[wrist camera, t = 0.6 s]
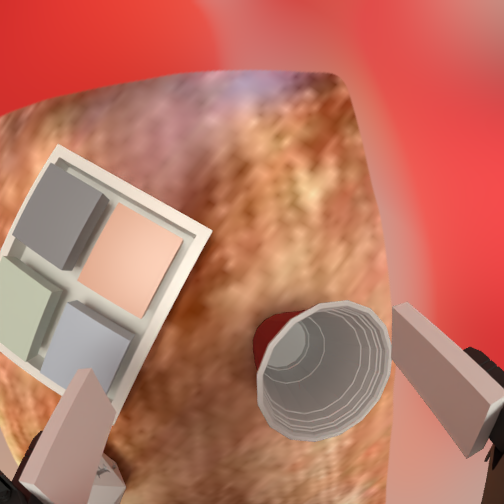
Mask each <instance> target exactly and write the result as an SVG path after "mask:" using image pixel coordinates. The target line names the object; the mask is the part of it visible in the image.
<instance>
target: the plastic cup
mask: <svg viewBox="0 0 504 504" xmlns="http://www.w3.org/2000/svg"><path fill="white" fill-rule="evenodd" d="M391 346H392V345H391V342H390V338H389V335H388V331H387V328H386V326H385V324H384V323H383V322H382V321H381V320H380V319H379V317H378V316H377V315H376V314H375V313H374V312H373V311H372V309H370V308H368V307H365V306H362V305H359V304H357V303H354V302H351V301H349V300H345V301H337V302H328V303H319V304H316V305H314V306H313V307H311V308H309V309H307V310H303V311H297V312H286V313H282V314H275V315H274V316H272V317H270V318H268V319H266V320H264V322H263V323H262V324H261V325H260V326H259V327H258V328H257V330H256V333H255V336H254V339H253V352H254V359H255V364H256V368H257V402H258V406H259V408H260V410H261V412H262V414H263V415H264V417H265V419H266V421H267V423H268V424H269V426H270V427H271V428H273V429H274V430H276V431H277V432H279V433H281V434H282V435H284V436H286V437H287V438H289V439H291V440H300V441H311V442H316V441H320V440H324V439H327V438H331V437H334V436H338V435H340V434H342V433H343V432H345V431H347V430H348V429H350V428H351V427H353V426H354V425H356V424H357V423H358V422H360V421H361V420H363V418H364V417H365V416H366V415H367V414H368V413H369V411H370V410H371V409H372V408H373V407H374V405H375V404H376V403H377V402H378V400H379V399H380V397H381V395H382V392H383V390H384V388H385V386H386V383H387V381H388V379H389V376H390V371H391V361H392V359H391Z"/></svg>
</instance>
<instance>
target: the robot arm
mask: <svg viewBox="0 0 504 504" xmlns="http://www.w3.org/2000/svg"><path fill="white" fill-rule="evenodd" d="M391 359H392V360H393V361H394V363H395V364H396V365H397V366H398V368H399V369H400V370H401V371H402V373H403V374H404V375H405V377H406V378H407V379H408V380H409V382H410V383H411V384H412V386H413V387H414V388H415V389H416V391H417V392H418V394H419V395H420V396H421V397H422V399H423V400H424V401H425V403H426V404H427V405H428V407H429V408H430V409H431V411H432V412H433V413H434V415H435V416H436V417H437V419H438V420H439V421H440V423H441V424H442V426H443V427H444V428H445V430H446V431H447V432H448V434H449V435H450V436H451V438H452V439H453V441H454V442H455V443H456V445H457V446H458V447H459V449H460V450H461V452H462V453H463V455H464V456H465V457H466V459H467V458H469V457H470V456H472V455H474V454H475V453H477V452H478V451H480V450H482V449H483V448H484V446H485V444H486V442H487V440H488V438H489V439H490V440H491V441H492V443H493V445H492V447H491V449H490V450H489V452H488V454H487V456H486V458H485V462H487V461H488V459H489V457H490V460H489V467H488V472H487V478H486V483H485V488H484V493H483V498H482V502H481V504H504V371H503V370H502V369H501V368H500V367H497V365H496V364H495V363H494V362H493V361H490V359H489V358H488V357H487V356H486V355H485V354H484V353H483V352H481V351H479V350H476V349H474V348H472V347H468V348H466V349H464V350H462V349H461V348H460V347H459V346H458V345H456V344H455V343H454V342H453V341H452V340H451V339H450V338H449V337H447V336H446V335H445V334H444V333H443V332H442V331H441V330H439V329H438V328H437V327H436V326H435V325H434V324H432V323H431V322H430V321H429V320H428V319H427V318H426V317H425V316H423V315H422V314H421V313H420V312H419V311H417V310H416V309H415V308H414V307H413V306H412V305H410V304H409V303H408V302H405V303H403V304H399V305H396V306H393V307H392V346H391ZM115 415H116V411H115V409H114V407H113V406H112V404H111V402H110V401H109V399H108V397H107V395H106V394H105V392H104V390H103V388H102V386H101V385H100V383H99V381H98V379H97V377H96V375H95V373H94V372H93V370H92V368H85V369H78V370H77V372H76V374H75V375H74V377H73V379H72V380H71V382H70V384H69V385H68V387H67V389H66V391H65V392H64V394H63V396H62V398H61V399H60V401H59V403H58V405H57V406H56V408H55V410H54V412H53V414H52V416H51V417H50V419H49V421H48V423H47V425H46V427H45V429H44V430H43V431H40V432H39V433H38V434H37V435H36V436H35V437H34V438H33V440H32V442H31V444H30V446H29V450H27V452H26V453H25V457H23V459H22V461H21V463H20V465H19V467H18V469H17V472H16V474H15V476H14V478H13V480H12V482H11V481H10V480H9V479H8V478H7V477H6V476H5V475H4V474H3V473H2V472H1V471H0V504H87V503H88V500H89V496H90V493H91V489H92V486H93V483H94V479H95V476H96V473H97V470H98V466H99V463H100V460H101V457H102V454H103V451H104V448H105V445H106V442H107V439H108V436H109V433H110V430H111V427H112V424H113V421H114V418H115Z"/></svg>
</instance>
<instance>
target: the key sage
mask: <svg viewBox="0 0 504 504" xmlns="http://www.w3.org/2000/svg"><path fill="white" fill-rule="evenodd" d="M62 292H63V290H61V289H60V288H58V287H57V286H55V285H54V284H53V283H51V282H50V281H48V280H47V279H45V278H44V277H43V276H41V275H40V274H38V273H37V272H36V271H34V270H33V269H31V268H30V267H29V266H27V265H26V264H25V263H23V262H22V261H21V260H19V259H18V258H17V257H11V256H2V259H1V261H0V343H2V344H3V345H4V346H5V347H7V348H8V349H9V350H10V351H12V352H13V353H14V354H15V355H17V356H18V357H19V358H21V359H22V360H23V361H25V362H27V361H28V360H30V359H32V358H33V357H35V356H37V354H38V352H39V349H40V346H41V343H42V341H43V338H44V335H45V333H46V330H47V327H48V325H49V322H50V320H51V317H52V315H53V313H54V310H55V308H56V305H57V303H58V301H59V298H60V296H61V294H62Z"/></svg>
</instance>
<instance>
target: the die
mask: <svg viewBox="0 0 504 504" xmlns="http://www.w3.org/2000/svg"><path fill="white" fill-rule="evenodd" d="M125 489H126V485H125V483H124V481H123V478H122V476H121V474H120V471H119V469H118V466H117V464H116V462H115V461H113V460H112V459H111V458H109V457H108V456H107V455H106V454H104V453H103V454H102V457H101V460H100V463H99V466H98V470H97V473H96V476H95V479H94V483H93V486H92V489H91V493H90V496H89V500H88V503H87V504H120V501H121V499H122V496H123V494H124V491H125Z"/></svg>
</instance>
